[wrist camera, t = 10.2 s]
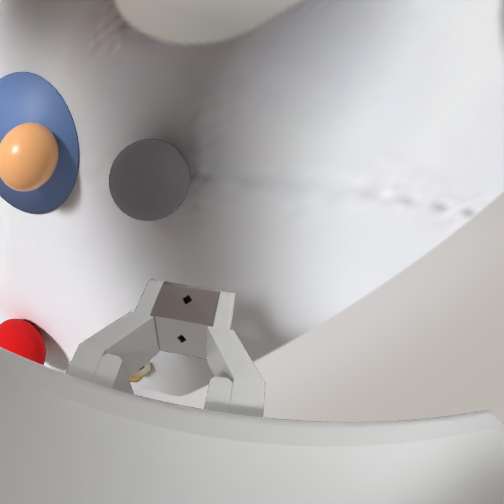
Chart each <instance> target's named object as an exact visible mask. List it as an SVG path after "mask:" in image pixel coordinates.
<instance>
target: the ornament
mask: <svg viewBox="0 0 504 504" xmlns="http://www.w3.org/2000/svg"><path fill="white" fill-rule="evenodd" d="M0 347H2V348H4V349H6V350H8V351H10V352H13V353H15V354H17V355H19V356H22V357H24V358H26V359H29V360H31V361H34V362H36V363H39V364H41V365H44V362H45V357H46V348H45V344H44V341H43V338H42V336H41V334H40V333H39V332H38V330H37V329H36V328H35V327H34V326H33V325H32V324H30V323H29V322H27V321H24V320H21V319H10V320H7V321H4V322H3V323H2V324H0Z"/></svg>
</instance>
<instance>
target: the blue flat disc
mask: <svg viewBox="0 0 504 504" xmlns="http://www.w3.org/2000/svg"><path fill="white" fill-rule="evenodd" d="M29 122H33V123H39V124H41V125H43V126H45V127H47V128H48V129H49V130H50V131H51V132H52V133H53V135H54V137H55V139H56V141H57V145H58V153H59V155H58V162H57V165H56V168H55V170H54V172H53V174H52V176H51V177H50V178H49V180H48V181H47V182H46V183H45V184H43V185H42V186H40V187H39V188H37V189H34V190H31V191H17V190H14V189H12V188H10V187H9V186H7V185H6V184H5V183H4V182H3V180H2V179H1V177H0V196H1V197H2V198H3V199H4V200H5V201H7V202H8V203H9V204H11V205H12V206H13V207H15V208H17V209H19V210H22V211H24V212H28V213H35V214H40V213H46V212H49V211H51V210H53V209H55V208H57V207H58V206H59V205H60V204H61V203H62V202H63V201H64V200H65V199H66V198H67V196H68V195H69V193H70V192H71V190H72V188H73V185H74V183H75V179H76V176H77V170H78V162H79V147H78V139H77V133H76V129H75V125H74V122H73V119H72V116H71V114H70V111H69V109H68V107H67V105H66V103H65V102H64V100H63V98H62V97H61V95H60V94H59V93H58V91H57V90H56V89H55V88H54V87H53V86H52V85H51V84H50V83H49V82H48V81H46V80H45V79H43V78H42V77H40V76H38V75H36V74H32V73H29V72H16V73H12V74H9V75H6V76H4V77H3V78H1V79H0V143H1V141H2V140H3V138H4V137H5V136H6V134H7V133H8V132H9V131H10V130H12V129H13V128H14V127H16V126H18V125H20V124H23V123H29Z"/></svg>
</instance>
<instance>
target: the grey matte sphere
mask: <svg viewBox="0 0 504 504" xmlns="http://www.w3.org/2000/svg"><path fill="white" fill-rule="evenodd" d="M189 179H190V177H189V169H188V166H187V163H186V161H185V159H184V157H183V156H182V154H181V153H180V152H179V151H178V150H177V149H176V148H175V147H174V146H172V145H170V144H169V143H167V142H164V141H161V140H156V139H145V140H140V141H137V142H135V143H132V144H131V145H129V146H127V147H126V148H125V149H124V150H122V151H121V152H120V154H119V155H118V156H117V157H116V159H115V160H114V162H113V165H112V167H111V170H110V175H109V188H110V192H111V196H112V198H113V200H114V202H115V203H116V205H117V206H118V207H119V208H120V209H121V210H122V211H123V212H124V213H125V214H127V215H128V216H130V217H132V218H135V219H138V220H145V221H152V220H157V219H161V218H163V217H166V216H168V215H169V214H171V213H172V212H173V211H175V210H176V209H177V208H178V207H179V206H180V204H181V203H182V202H183V200H184V198H185V196H186V194H187V191H188V187H189Z"/></svg>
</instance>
